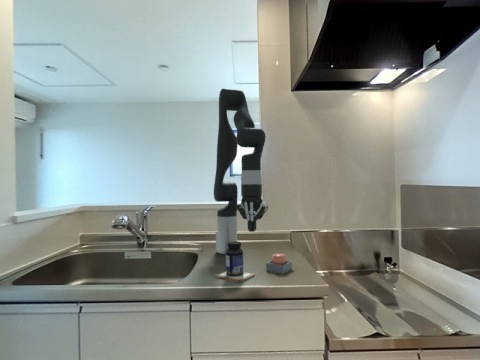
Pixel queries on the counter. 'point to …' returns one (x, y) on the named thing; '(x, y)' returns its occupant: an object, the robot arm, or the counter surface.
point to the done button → (279, 259)
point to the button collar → (279, 267)
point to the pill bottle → (234, 259)
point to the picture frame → (235, 277)
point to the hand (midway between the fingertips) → (252, 231)
